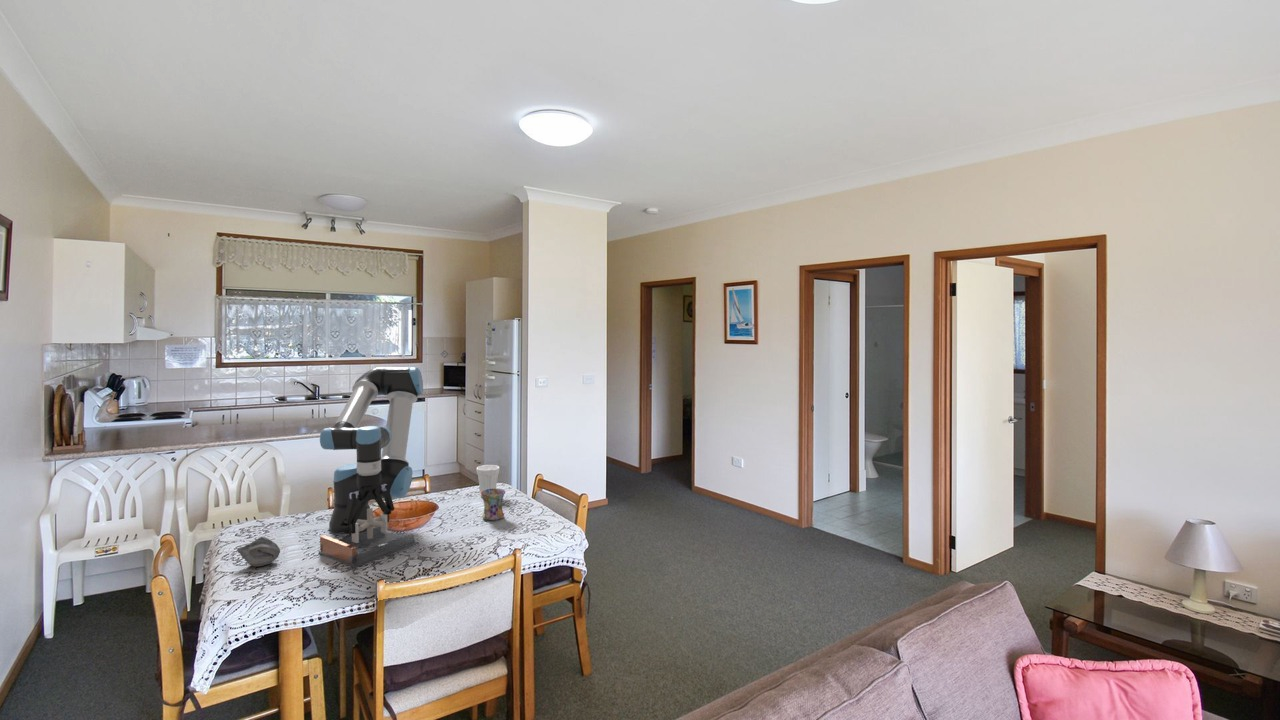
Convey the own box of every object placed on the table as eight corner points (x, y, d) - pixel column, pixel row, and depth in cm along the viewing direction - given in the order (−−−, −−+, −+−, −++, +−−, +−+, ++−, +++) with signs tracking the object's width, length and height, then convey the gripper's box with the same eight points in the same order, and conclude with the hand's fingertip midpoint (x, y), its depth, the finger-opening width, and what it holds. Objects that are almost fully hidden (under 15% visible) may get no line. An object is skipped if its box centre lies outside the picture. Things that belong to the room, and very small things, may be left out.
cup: (472, 499, 256) (472, 469, 255) (482, 492, 266) (482, 464, 265) (494, 500, 254) (494, 471, 253) (503, 494, 264) (503, 465, 263)
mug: (509, 518, 232) (509, 492, 231) (487, 523, 226) (487, 496, 225) (495, 510, 241) (495, 485, 240) (474, 515, 235) (474, 489, 235)
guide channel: (383, 531, 215) (383, 515, 215) (419, 543, 205) (418, 527, 204) (318, 553, 195) (318, 535, 195) (354, 568, 185) (353, 549, 184)
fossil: (239, 573, 179) (238, 548, 179) (237, 563, 186) (236, 538, 186) (281, 564, 186) (281, 540, 186) (278, 555, 193) (277, 531, 193)
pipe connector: (373, 544, 194) (373, 515, 193) (347, 541, 196) (346, 512, 195) (392, 533, 204) (392, 505, 203) (366, 531, 206) (366, 503, 205)
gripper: (343, 482, 187) (344, 550, 188) (405, 467, 206) (405, 529, 207) (330, 478, 191) (331, 545, 192) (391, 464, 210) (392, 525, 211)
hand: (370, 537), depth 200 cm, fingers closed on pipe connector, 10 cm apart
